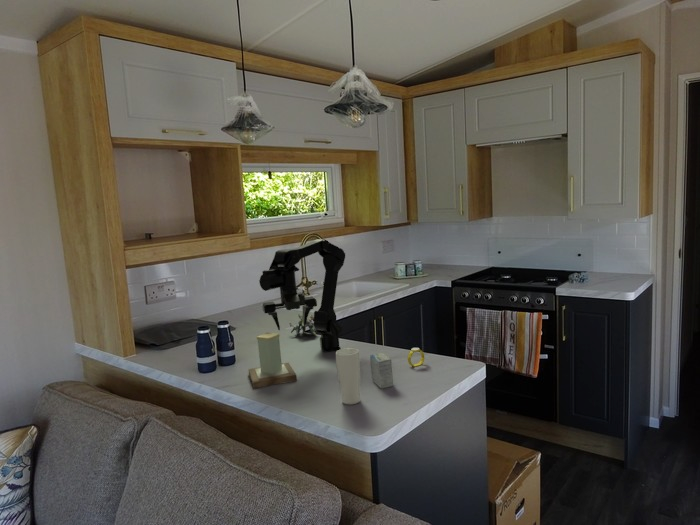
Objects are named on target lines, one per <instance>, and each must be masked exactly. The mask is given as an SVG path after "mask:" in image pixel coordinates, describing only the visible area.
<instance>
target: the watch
mask: <svg viewBox="0 0 700 525" xmlns="http://www.w3.org/2000/svg"><path fill="white" fill-rule="evenodd" d="M418 352H420V355H421V358H420V360H419V362H418V363H416V364H413V362H412V356H413V354H414V353H418ZM425 359H426V358H425V353H424V351H423V350H421V349H420V348H419V347H412V348H411V349H410V352H409V353H408V356H407V362H408V364H409V365H410V366H411V367H413V368H416V367H419V366H422V365H423V363H424V361H425Z"/></svg>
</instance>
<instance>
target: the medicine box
mask: <svg viewBox="0 0 700 525" xmlns="http://www.w3.org/2000/svg"><path fill="white" fill-rule="evenodd" d="M369 356H370V358H369V359H370V369H371V371H370V372H371V380H372V382H374V384H375V385H377V387H379V388H380V389H387V388H390V387H393V386H394V375H393V364H392V362H393V361H392V359H391V358H390V357H389V356H387V355H386V354H384V353H383V352H378V353H373V354H370V355H369Z"/></svg>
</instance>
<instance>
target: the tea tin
mask: <svg viewBox="0 0 700 525" xmlns="http://www.w3.org/2000/svg"><path fill="white" fill-rule="evenodd" d="M256 339H257V345H258V346H257V347H258V348H257V349H258V356H259V357H258V359H259V367H260V368H261V372H262V373H267V374H274V373H276V372H278V371H280V370H282V363H283V362H282V356H281V354H282V353H281V345H280V344H281V343H280V333H273V332H265V333H263V334H260V335H259V336H256Z"/></svg>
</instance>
